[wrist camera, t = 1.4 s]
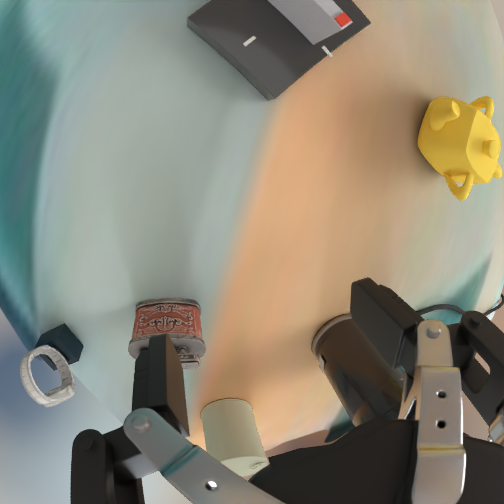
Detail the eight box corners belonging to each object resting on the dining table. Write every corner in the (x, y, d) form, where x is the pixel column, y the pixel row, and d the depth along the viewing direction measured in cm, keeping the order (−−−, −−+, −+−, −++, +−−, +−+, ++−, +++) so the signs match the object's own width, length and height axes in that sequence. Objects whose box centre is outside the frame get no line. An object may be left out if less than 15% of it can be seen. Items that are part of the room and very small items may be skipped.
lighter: (138, 321, 34) (129, 380, 25) (134, 298, 32) (121, 356, 23) (200, 319, 35) (208, 377, 26) (199, 296, 34) (207, 354, 25)
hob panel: (290, -41, 19) (298, -51, 17) (362, 30, 25) (374, 25, 22) (184, 24, 21) (184, 15, 19) (270, 103, 27) (278, 100, 24)
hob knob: (254, -10, 19) (272, -39, 13) (266, -17, 19) (285, -45, 13) (313, 45, 23) (343, 29, 17) (323, 37, 22) (354, 21, 17)
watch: (67, 364, 34) (50, 421, 24) (33, 326, 30) (5, 380, 21) (92, 355, 34) (77, 415, 24) (57, 313, 31) (28, 371, 21)
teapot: (412, 192, 35) (466, 215, 26) (395, 100, 29) (456, 101, 20) (466, 168, 35) (514, 185, 26) (454, 91, 30) (507, 95, 21)
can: (255, 420, 47) (271, 473, 37) (207, 429, 46) (216, 483, 35) (249, 393, 43) (267, 453, 33) (194, 404, 42) (202, 465, 31)
